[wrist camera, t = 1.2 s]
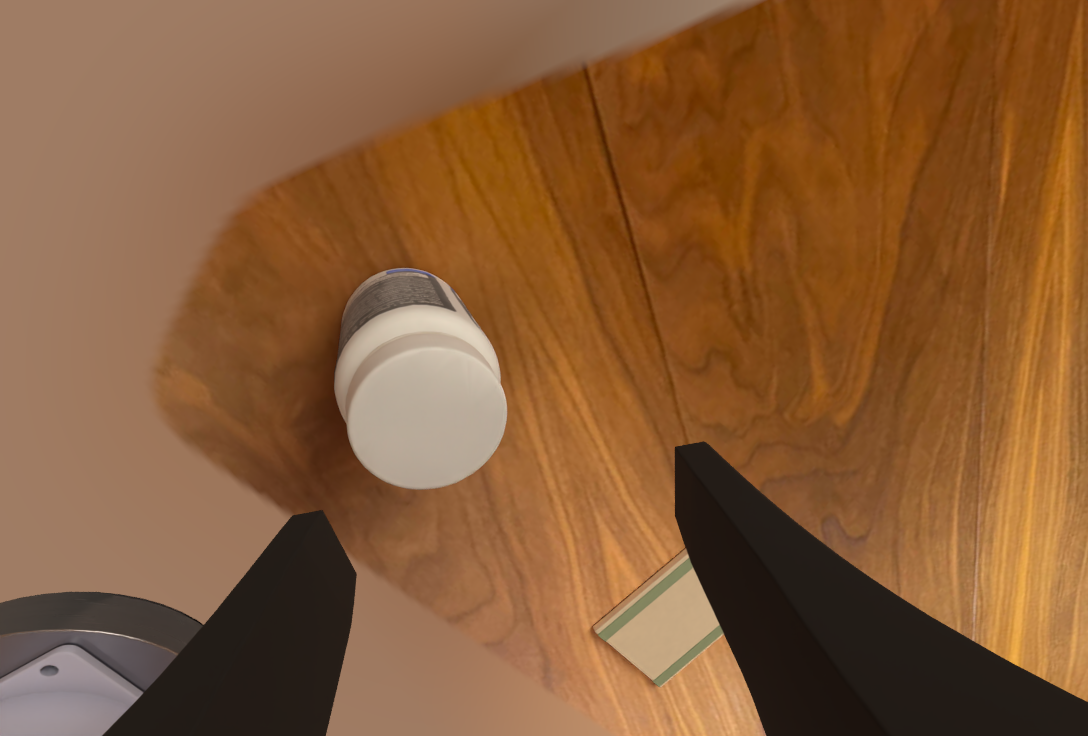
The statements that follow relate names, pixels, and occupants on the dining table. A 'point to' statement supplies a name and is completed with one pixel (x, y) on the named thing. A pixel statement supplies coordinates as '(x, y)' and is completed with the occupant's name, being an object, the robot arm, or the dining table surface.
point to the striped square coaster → (663, 622)
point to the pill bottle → (417, 382)
